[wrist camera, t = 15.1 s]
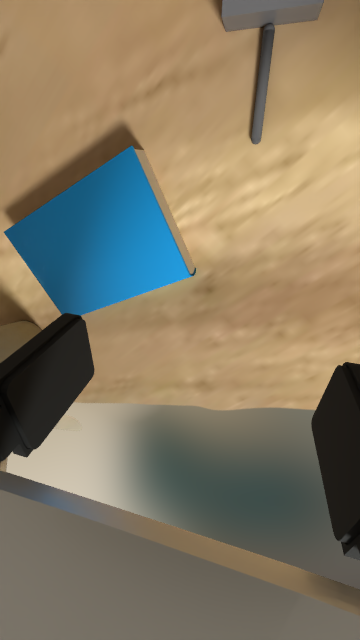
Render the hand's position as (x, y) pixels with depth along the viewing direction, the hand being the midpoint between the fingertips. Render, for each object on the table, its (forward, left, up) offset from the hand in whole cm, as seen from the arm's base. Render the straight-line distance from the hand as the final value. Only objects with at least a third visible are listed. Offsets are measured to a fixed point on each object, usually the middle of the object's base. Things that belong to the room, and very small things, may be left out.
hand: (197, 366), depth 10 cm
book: (+21, +5, -29) cm, 36 cm away
